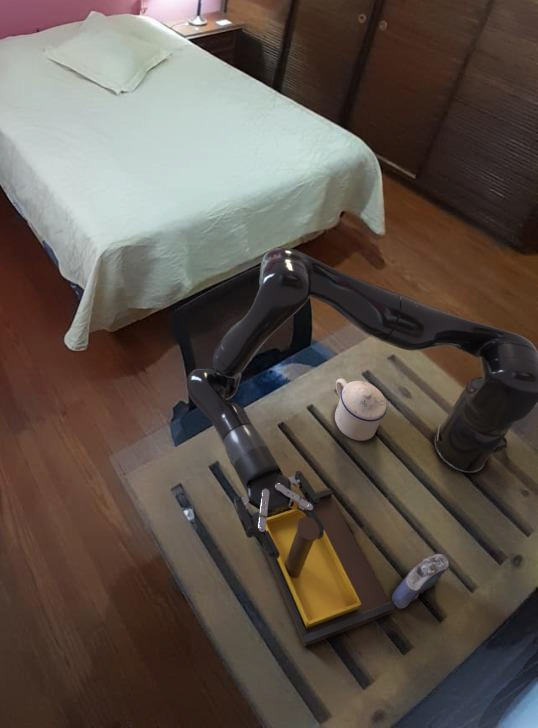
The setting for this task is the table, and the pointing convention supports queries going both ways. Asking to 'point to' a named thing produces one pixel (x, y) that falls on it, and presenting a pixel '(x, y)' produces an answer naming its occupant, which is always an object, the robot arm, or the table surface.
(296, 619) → the track
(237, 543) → the table surface
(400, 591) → the flask
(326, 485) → the table surface
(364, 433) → the teacup with lid
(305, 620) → the tray
